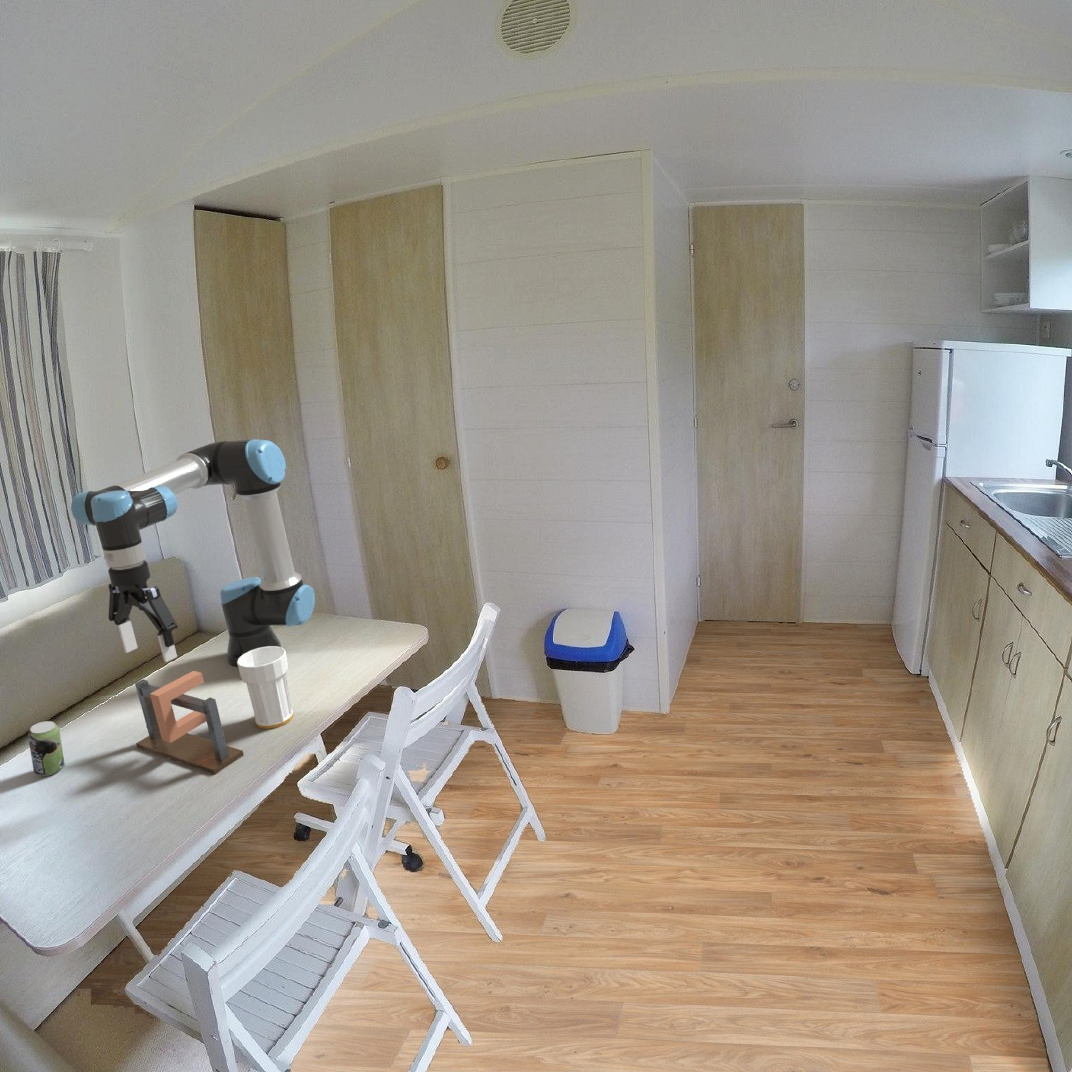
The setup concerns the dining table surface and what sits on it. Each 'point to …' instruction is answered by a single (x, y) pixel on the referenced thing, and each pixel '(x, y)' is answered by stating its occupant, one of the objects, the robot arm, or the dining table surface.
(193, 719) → the c link
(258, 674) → the cup
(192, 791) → the dining table surface
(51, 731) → the beverage can
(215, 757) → the stand
